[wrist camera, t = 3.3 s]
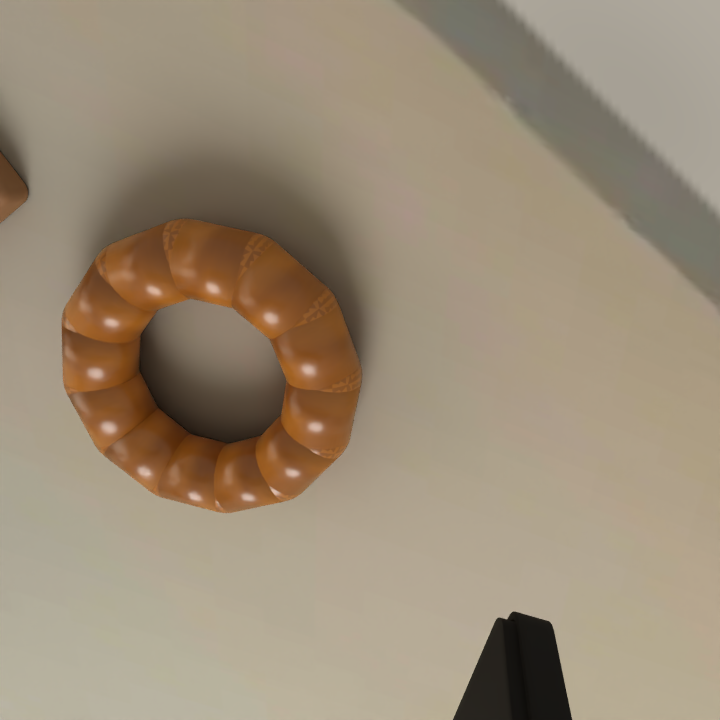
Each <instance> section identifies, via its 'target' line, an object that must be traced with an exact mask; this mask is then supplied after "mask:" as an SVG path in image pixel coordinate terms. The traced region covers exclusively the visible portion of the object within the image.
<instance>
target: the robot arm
mask: <svg viewBox="0 0 720 720" xmlns="http://www.w3.org/2000/svg"><path fill="white" fill-rule="evenodd" d="M453 720H572V717H571V712H570V708H569V703H568V698H567V693H566V688H565V683H564V678H563V673H562V668H561V663H560V659H559V654H558V649H557V644H556V639H555V634H554V630H553V627H552V624H551V623H550V622H549V621H546V620H542V619H539V618H535V617H532V616H528V615H525V614H521V613H518V612H512V613H511V614H510V616H509V617H508V619H503V618H497V619H496V621H495V623H494V626H493V628H492V630H491V633H490V635H489V637H488V640H487V642H486V644H485V646H484V649H483V651H482V653H481V656H480V658H479V660H478V663H477V665H476V667H475V670H474V672H473V674H472V677H471V679H470V681H469V684H468V686H467V688H466V691H465V693H464V695H463V698H462V700H461V702H460V705H459V707H458V709H457V712H456V714H455V716H454V719H453Z"/></svg>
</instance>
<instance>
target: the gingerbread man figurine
mask: <svg viewBox="0 0 720 720" xmlns="http://www.w3.org/2000/svg"><path fill="white" fill-rule="evenodd" d="M27 198H28V190H27V187H26V185H25V183H24V182H23V181H22V179H21V178H20V177H19V175H18V174H17V173H16V171H15V170H14V169H13V168H12V166H11V165H10V164H9V162H8V161H7V160H6V158H5V157H4V156H3V154H2V153H1V152H0V223H1V222H2V221H3V220H4V219H5V218H7V217H8V216H9V215H10V214H11V213H12V212H14V211H15V210H16V209H17V208H18V207H19V206H21V205H22V204H23V203H24V202H25V201H26V200H27Z"/></svg>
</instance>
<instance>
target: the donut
mask: <svg viewBox="0 0 720 720" xmlns="http://www.w3.org/2000/svg"><path fill="white" fill-rule="evenodd" d="M188 299H195V300H199V301H204V302H208V303H212V304H217V305H221V306H225V307H230V308H233V309H234V310H236V311H237V312H238V313H239V314H240V315H242V316H243V317H244V318H245V319H246V320H247V321H249V322H250V323H251V324H252V325H253V326H255V327H256V328H257V329H258V330H259V331H260V332H262V333H263V334H264V335H265V336H266V337H268V338H269V339H270V341H271V344H272V346H273V349H274V351H275V353H276V356H277V358H278V361H279V363H280V366H281V368H282V370H283V373H284V375H285V378H286V386H285V393H284V400H283V407H282V414H281V415H280V416H279V417H278V418H277V419H276V420H275V421H274V422H273V424H272V425H271V426H270V427H269V428H268V429H267V430H266V431H265V432H264V433H263V434H262V435H261V436H258V437H254V438H250V439H246V440H242V441H238V442H234V443H230V444H228V443H224V442H220V441H216V440H212V439H208V438H204V437H200V436H196V435H192V434H190V433H189V432H188V431H186V430H185V429H184V428H183V427H181V426H180V425H179V424H178V423H177V422H175V421H174V420H173V419H172V418H170V417H169V416H168V415H167V414H165V413H164V412H163V411H162V410H160V409H159V408H158V407H157V405H156V403H155V401H154V399H153V397H152V395H151V393H150V391H149V389H148V387H147V385H146V383H145V381H144V379H143V377H142V375H141V373H140V371H139V359H140V334H141V333H142V331H143V330H144V329H145V327H146V326H147V325H148V323H149V322H150V320H151V319H152V318H153V316H154V315H155V314H156V312H157V311H158V309H161V308H164V307H167V306H170V305H173V304H176V303H179V302H182V301H185V300H188ZM62 357H63V382H64V388H65V390H66V393H67V395H68V396H69V398H70V400H71V402H72V404H73V406H74V407H75V409H76V411H77V413H78V415H79V417H80V418H81V420H82V422H83V424H84V426H85V428H86V429H87V431H88V433H89V435H90V437H91V439H92V440H93V442H94V444H95V446H96V447H97V449H98V450H99V451H100V452H101V453H102V454H103V455H104V456H105V457H107V458H108V459H109V460H110V461H112V462H113V463H114V464H116V465H117V466H118V467H119V468H121V469H122V470H123V471H125V472H126V473H127V474H128V475H130V476H131V477H132V478H134V479H135V480H136V481H137V482H139V483H140V484H141V485H143V486H144V487H145V488H146V489H148V490H149V491H150V492H152V493H153V494H155V495H157V496H159V497H162V498H166V499H170V500H174V501H177V502H181V503H185V504H189V505H193V506H197V507H201V508H205V509H208V510H212V511H216V512H222V513H232V512H237V511H242V510H246V509H251V508H256V507H260V506H265V505H270V504H274V503H279V502H284V501H288V500H290V499H293V498H295V497H297V496H298V495H300V494H301V493H302V492H303V491H304V490H305V489H306V488H307V487H308V486H309V485H310V484H311V483H312V482H314V481H315V480H316V479H317V478H318V477H319V476H320V475H321V474H322V473H323V472H324V471H325V470H326V469H327V468H328V467H329V466H330V465H331V464H332V463H333V462H334V461H335V460H336V459H337V458H338V457H339V456H340V455H341V454H342V453H343V452H344V450H345V449H346V447H347V445H348V443H349V440H350V436H351V431H352V426H353V421H354V416H355V411H356V407H357V402H358V397H359V392H360V387H361V382H362V368H361V364H360V361H359V358H358V355H357V353H356V350H355V347H354V345H353V342H352V339H351V337H350V334H349V331H348V328H347V326H346V323H345V320H344V318H343V315H342V312H341V309H340V307H339V304H338V302H337V300H336V298H335V296H334V294H333V293H332V292H331V291H330V289H328V288H327V287H326V286H325V285H324V284H323V283H322V282H321V281H320V280H318V279H317V278H316V277H315V276H314V275H313V274H312V273H310V272H309V271H308V270H307V269H306V268H305V267H304V266H302V265H301V264H300V263H299V262H298V261H297V260H296V259H294V258H293V257H292V256H291V255H290V254H289V253H288V252H286V251H285V250H284V249H283V248H282V247H281V246H280V245H278V244H277V243H276V242H275V241H274V240H272V239H270V238H269V237H267V236H265V235H262V234H258V233H254V232H250V231H245V230H240V229H236V228H231V227H227V226H222V225H217V224H213V223H208V222H204V221H199V220H194V219H187V218H185V219H175V220H172V221H169V222H166V223H164V224H161V225H158V226H156V227H153V228H151V229H148V230H145V231H143V232H140V233H137V234H135V235H132V236H129V237H127V238H124V239H122V240H119V241H116V242H114V243H112V244H110V245H108V246H107V247H105V248H104V249H103V250H102V251H101V252H100V253H99V254H98V256H97V257H96V259H95V260H94V262H93V263H92V265H91V266H90V268H89V270H88V271H87V273H86V274H85V276H84V277H83V279H82V281H81V282H80V284H79V285H78V287H77V288H76V290H75V292H74V293H73V295H72V296H71V298H70V299H69V301H68V303H67V304H66V306H65V308H64V311H63V315H62Z"/></svg>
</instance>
